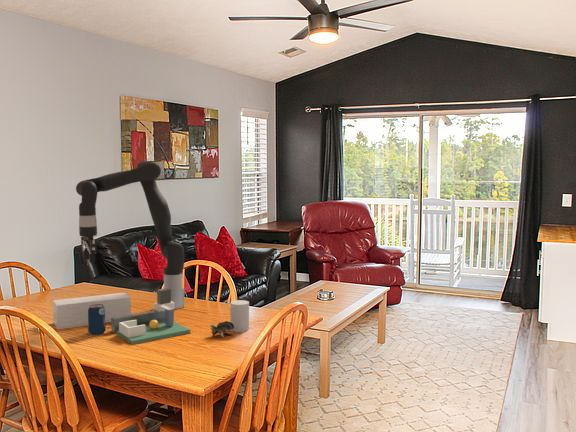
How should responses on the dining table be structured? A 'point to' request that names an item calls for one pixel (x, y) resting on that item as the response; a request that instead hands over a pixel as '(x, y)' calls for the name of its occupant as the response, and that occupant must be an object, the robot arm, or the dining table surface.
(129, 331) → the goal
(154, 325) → the ball
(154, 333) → the pitch
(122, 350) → the dining table surface
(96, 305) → the soda can
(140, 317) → the rail
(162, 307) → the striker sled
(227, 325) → the toy animal figurine
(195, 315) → the dining table surface
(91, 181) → the robot arm
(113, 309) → the white ribbed long block
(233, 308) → the cup
